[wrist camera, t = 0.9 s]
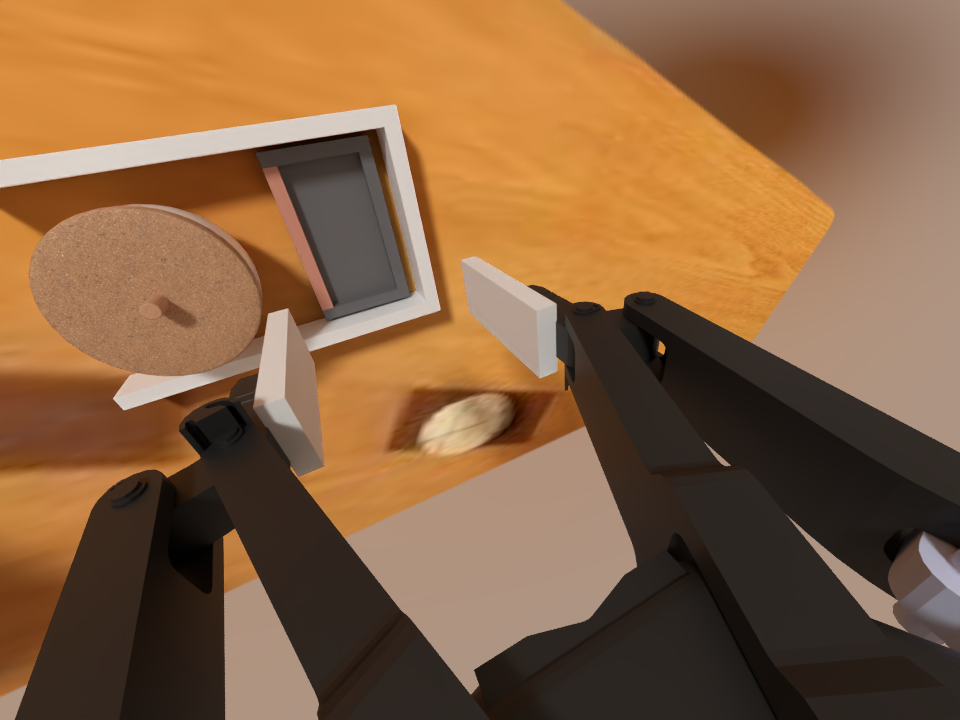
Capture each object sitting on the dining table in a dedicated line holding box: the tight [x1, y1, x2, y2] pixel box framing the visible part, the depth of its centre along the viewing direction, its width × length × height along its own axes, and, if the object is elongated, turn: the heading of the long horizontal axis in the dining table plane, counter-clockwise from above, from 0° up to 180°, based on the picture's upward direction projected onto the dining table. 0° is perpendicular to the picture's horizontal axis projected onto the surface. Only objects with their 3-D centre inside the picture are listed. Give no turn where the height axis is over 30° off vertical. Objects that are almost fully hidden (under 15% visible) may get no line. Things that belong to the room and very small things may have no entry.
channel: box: [0, 105, 441, 410], centre depth 28 cm, size 26×16×4 cm, turn 99°
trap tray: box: [256, 135, 410, 320], centre depth 30 cm, size 8×13×2 cm, turn 9°
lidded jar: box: [29, 204, 262, 376], centre depth 24 cm, size 11×11×9 cm
